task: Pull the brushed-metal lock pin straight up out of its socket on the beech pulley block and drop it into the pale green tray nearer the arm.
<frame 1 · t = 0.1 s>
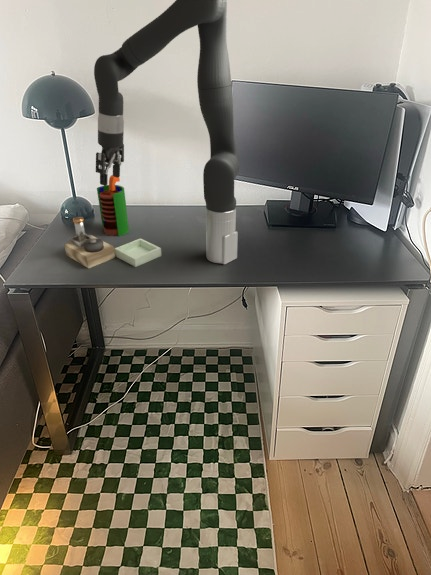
hand: (110, 180, 143), 22 cm above the table, tool pointing down, fingers open, 8 cm apart
pulley block: (90, 256, 148), on the table
tray: (138, 255, 148), on the table
lock pin: (82, 241, 148), point 4 cm above the table, touching pulley block
motor: (116, 230, 165), on the table
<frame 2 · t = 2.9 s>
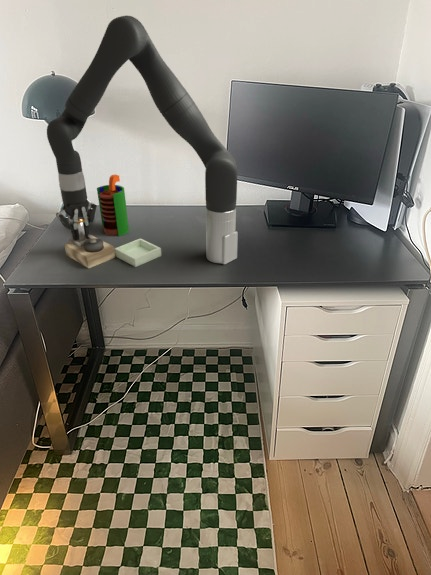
hand: (81, 237, 147), 6 cm above the table, tool pointing down, fingers closed on lock pin, 2 cm apart
lock pin: (81, 241, 148), point 4 cm above the table, touching gripper, pulley block
everything else where it was.
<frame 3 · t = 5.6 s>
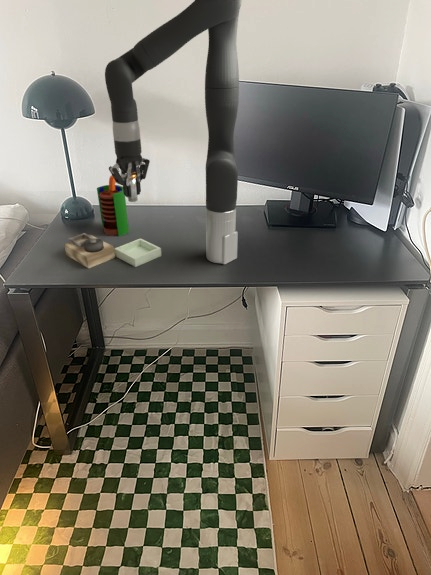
hand: (132, 195, 137), 21 cm above the table, tool pointing down, fingers closed on lock pin, 2 cm apart
lock pin: (133, 200, 138), point 19 cm above the table, touching gripper
everything else where it was.
when the fingers open (4 cm above the table, at t = 8.4 s): lock pin drops 2 cm, resting on tray.
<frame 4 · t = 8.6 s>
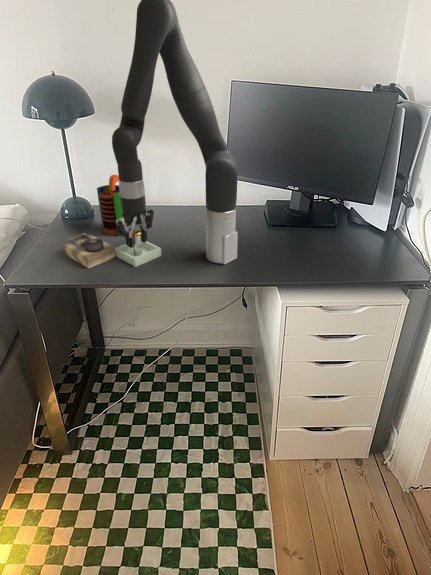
hand: (137, 243, 146), 4 cm above the table, tool pointing down, fingers open, 4 cm apart
lock pin: (138, 254, 148), point 1 cm above the table, touching tray
everything else where it was.
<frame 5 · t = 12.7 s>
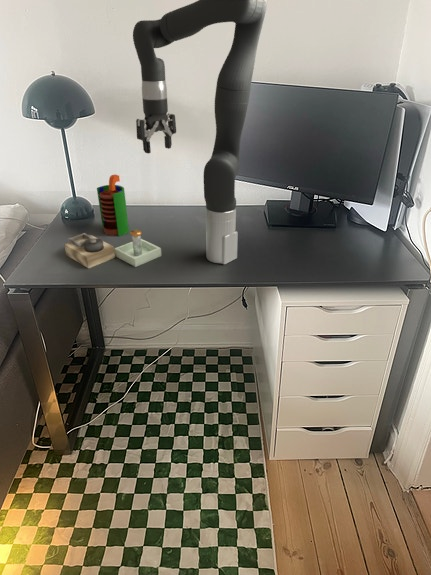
hand: (158, 150, 146), 30 cm above the table, tool pointing down, fingers open, 8 cm apart
nothing on the table moved.
at the end: lock pin inside the target area on the tray (0.0 cm from its centre), point 0.6 cm above the tray's base; the gripper is holding nothing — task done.
